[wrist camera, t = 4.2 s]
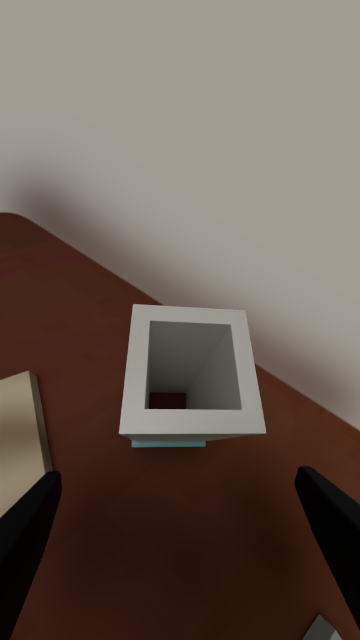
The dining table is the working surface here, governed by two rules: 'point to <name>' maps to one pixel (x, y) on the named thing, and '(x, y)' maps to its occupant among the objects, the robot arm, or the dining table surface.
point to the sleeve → (190, 377)
